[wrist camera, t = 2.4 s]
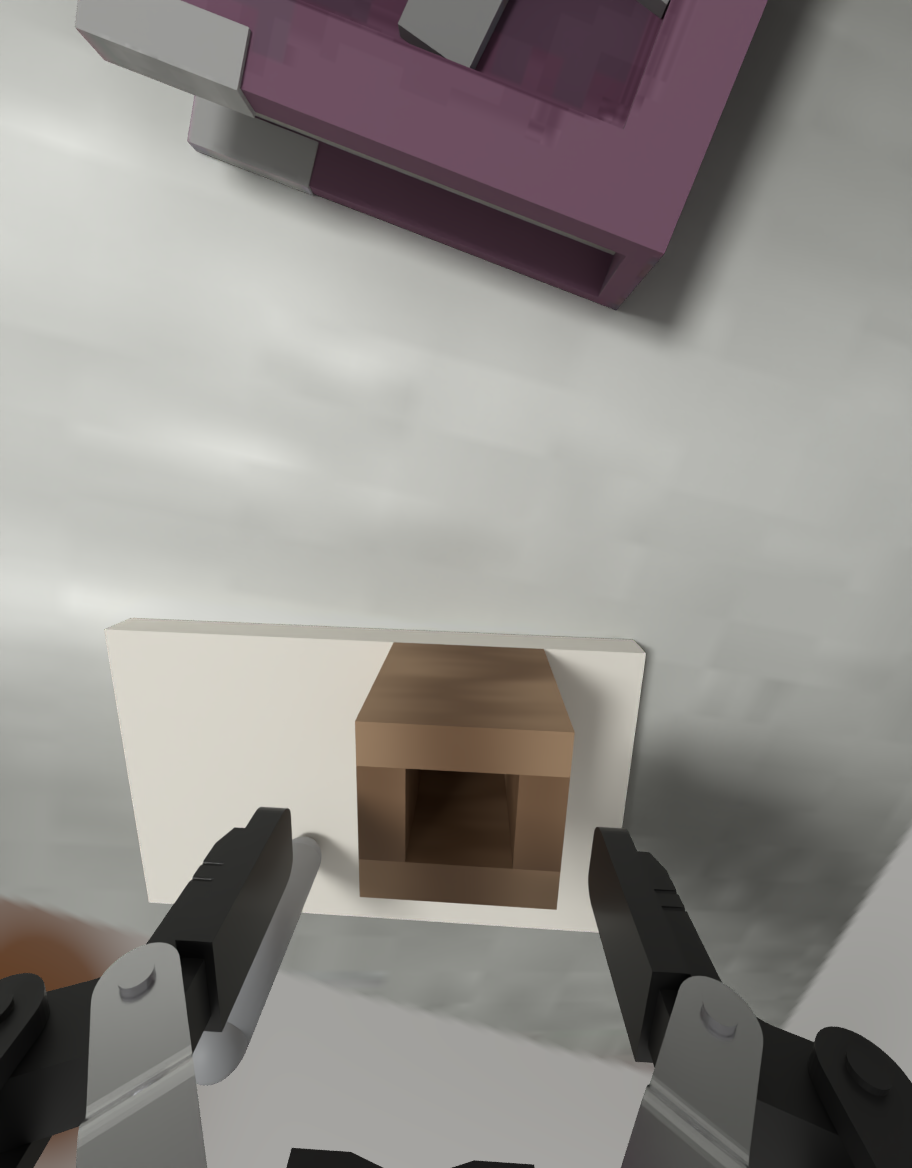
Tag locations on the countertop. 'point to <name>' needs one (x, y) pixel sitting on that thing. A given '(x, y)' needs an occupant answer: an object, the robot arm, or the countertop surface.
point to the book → (459, 113)
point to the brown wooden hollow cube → (463, 777)
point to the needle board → (325, 768)
